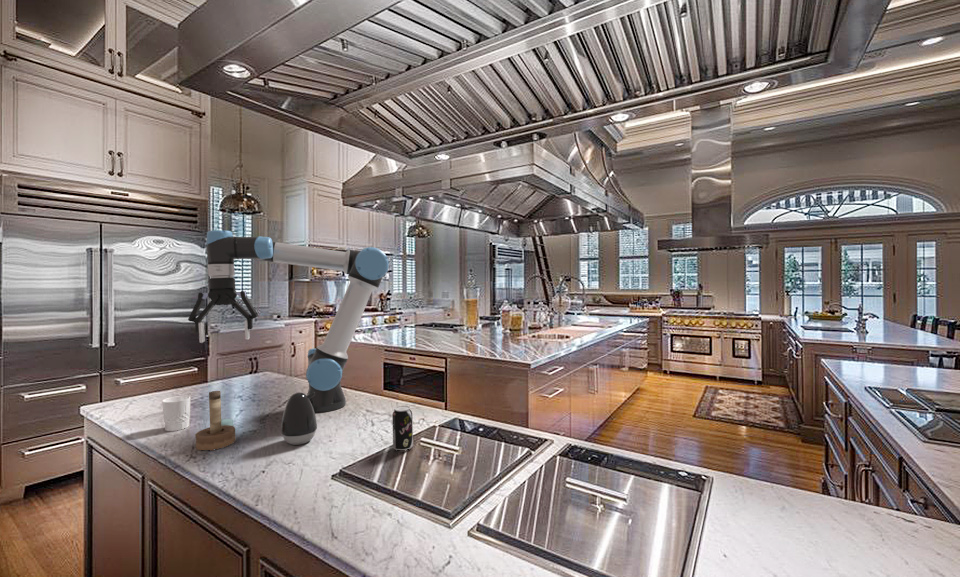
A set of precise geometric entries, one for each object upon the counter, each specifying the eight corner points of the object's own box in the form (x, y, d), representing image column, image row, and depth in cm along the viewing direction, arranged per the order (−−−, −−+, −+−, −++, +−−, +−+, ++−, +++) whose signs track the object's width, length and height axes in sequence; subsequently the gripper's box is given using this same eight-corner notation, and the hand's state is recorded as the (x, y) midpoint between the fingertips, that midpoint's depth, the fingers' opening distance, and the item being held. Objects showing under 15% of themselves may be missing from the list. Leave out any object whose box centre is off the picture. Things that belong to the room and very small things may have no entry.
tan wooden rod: (223, 441, 133) (222, 390, 132) (219, 445, 130) (218, 393, 129) (212, 442, 132) (211, 391, 131) (208, 446, 129) (207, 393, 129)
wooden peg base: (239, 436, 137) (239, 424, 136) (227, 448, 127) (227, 435, 127) (205, 439, 135) (204, 426, 135) (190, 452, 125) (189, 438, 125)
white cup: (196, 424, 149) (195, 395, 149) (178, 432, 141) (177, 402, 141) (176, 423, 150) (175, 395, 150) (156, 431, 142) (155, 402, 142)
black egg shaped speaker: (324, 440, 132) (322, 391, 132) (290, 451, 124) (288, 399, 124) (308, 432, 139) (307, 386, 138) (275, 442, 131) (274, 393, 131)
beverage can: (416, 445, 127) (415, 405, 126) (407, 453, 121) (406, 411, 121) (399, 443, 129) (398, 404, 128) (389, 451, 123) (388, 410, 123)
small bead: (236, 428, 145) (235, 418, 145) (229, 434, 139) (229, 424, 139) (216, 429, 144) (216, 419, 143) (209, 436, 138) (208, 425, 138)
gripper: (174, 278, 136) (177, 345, 137) (260, 275, 142) (263, 339, 143) (183, 278, 143) (187, 341, 144) (265, 276, 149) (268, 336, 150)
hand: (225, 340), depth 143 cm, fingers open, 13 cm apart
